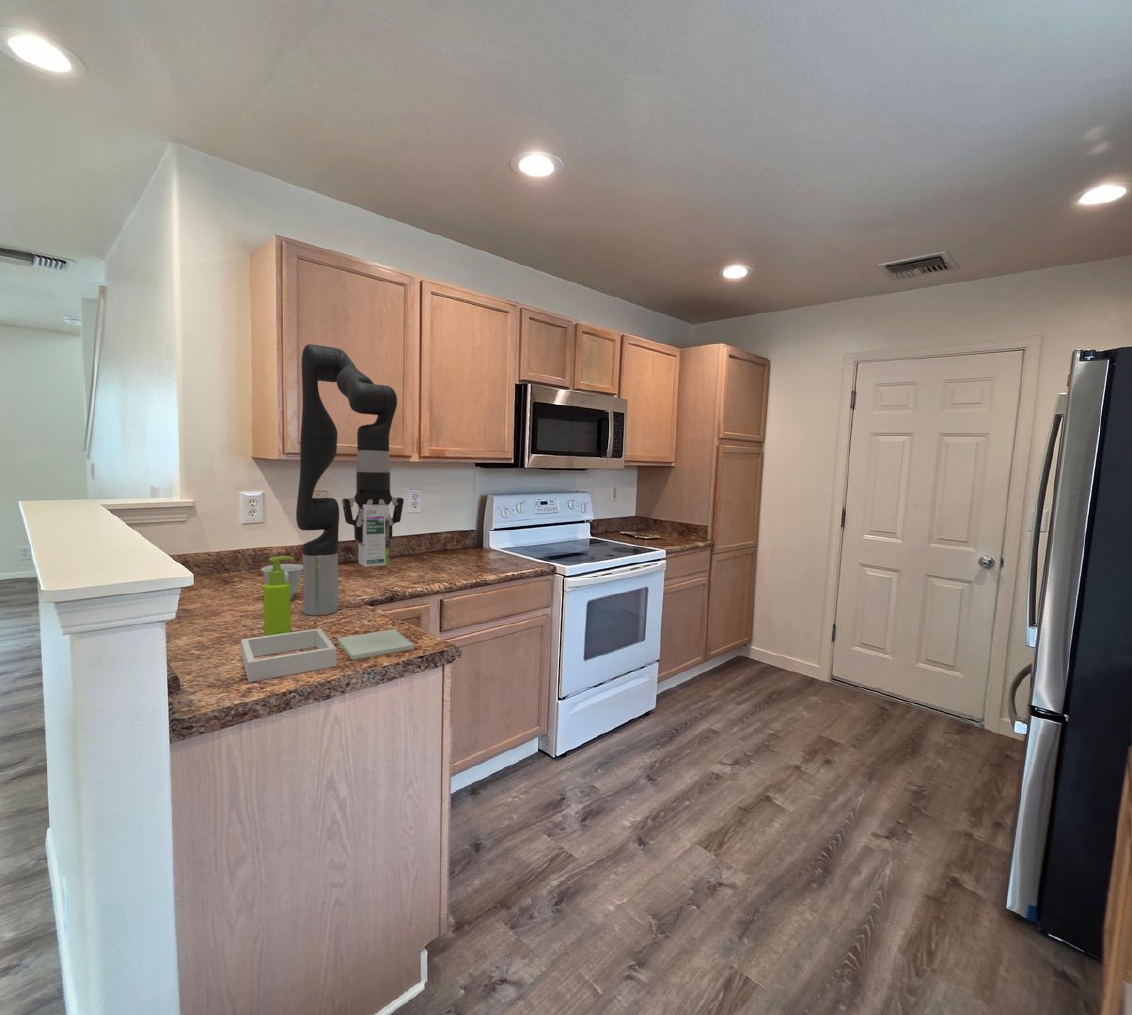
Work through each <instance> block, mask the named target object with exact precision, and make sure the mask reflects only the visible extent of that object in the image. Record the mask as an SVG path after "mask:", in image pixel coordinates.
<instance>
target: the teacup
mask: <svg viewBox="0 0 1132 1015" xmlns="http://www.w3.org/2000/svg"><path fill="white" fill-rule="evenodd" d="M280 565H281V569H282V570H284V576H285V582H286V583H290V600H292V599H294V595H295V594H296V593H297V592H298V591H299V589H300V585H301V577H302V573H303V564H298V563H297V564H296V563H282V564H281V563H280ZM272 569H273V564H271V565H266V566H263V567H262V568H261V569H260V570H261V571H262V573H263V576H264V581H265V583H264V584H265V585H266V584H269V571H271V570H272Z"/></svg>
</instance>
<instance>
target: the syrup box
mask: <svg viewBox="0 0 1132 1015" xmlns="http://www.w3.org/2000/svg"><path fill="white" fill-rule="evenodd" d="M359 509H360V513H361V512H362V510H363V523H362V525H361V527H362V543H358V542H357V543H358V544H357V545H358V564H360V565H361V566H362V567H364V568H370V567H378V566H389V565H390V541H389V514H390V504H389V505H388V504H385V505H380V504H372V505H365V504H363V507H362V509H361V508H360V507H359V506H358V505H357V512H358V511H359Z"/></svg>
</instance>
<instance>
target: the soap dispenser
mask: <svg viewBox="0 0 1132 1015" xmlns="http://www.w3.org/2000/svg"><path fill="white" fill-rule="evenodd" d="M268 560H269V561H270V562H272V565H273V569H272V570H271V571H269V584H266V583H265V584H264V585H263V589H262V590H263V634H264V636H269V635H276V634H284V633H291V632H292V625H291V624H292V617H291V614H292V612H291V604H292V602H291V599H290V583H286V582H285V576H284V570H282V569H281V565H280V564H281V561H282V560H290V561H291V560H295V557H293V556H287V555H281V556H280V555H279V556H274V557H269V558H268Z"/></svg>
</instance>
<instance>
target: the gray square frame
mask: <svg viewBox="0 0 1132 1015" xmlns="http://www.w3.org/2000/svg"><path fill="white" fill-rule="evenodd" d="M311 648H316V649H312V650H307V651H300V652H294V653H289V654H288V653H287V654H282V655H275V656H268V657H264V658H263V657H262V658H257V659H255V658H256V657H260V656H267V655H273V654H278V653H279V654H280V653H286V652H292V651H297V650H304V649H311ZM240 651H241V652H240V653H241V655H240V656H241V660H242V664H243V668H244V672H245V675H246V678H247V682H248V683H252V682H258V681H263V680H269V679H275V678H280V677H285V676H291V675H296V674H301V673H307V672H312V671H313V672H314V671H318V670H325V669H329V668H334V667H337V647H336V646H335V645H334V643H333V642H332V641H331V640H330V639H329V637H328V636H327V635H326V634H325V632H324V631H323V629H322V628H320V627H318V628H313V629H305V630H298V631H293V632H292V631H291V633H284V634H276V635H269V636H257V637H256V636H255V637H249V638H244V639H242V638H241V640H240ZM254 657H255V658H254Z"/></svg>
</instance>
